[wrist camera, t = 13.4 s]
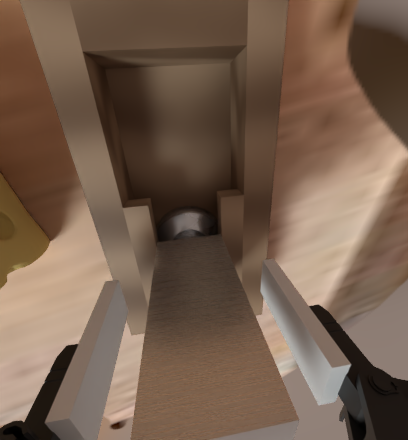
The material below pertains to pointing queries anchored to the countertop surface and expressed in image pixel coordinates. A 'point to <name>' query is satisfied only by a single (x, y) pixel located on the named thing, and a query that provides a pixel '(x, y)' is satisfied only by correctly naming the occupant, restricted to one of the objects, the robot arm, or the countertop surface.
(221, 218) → the keyhole plate
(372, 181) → the countertop surface
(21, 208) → the cheese
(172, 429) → the peg
